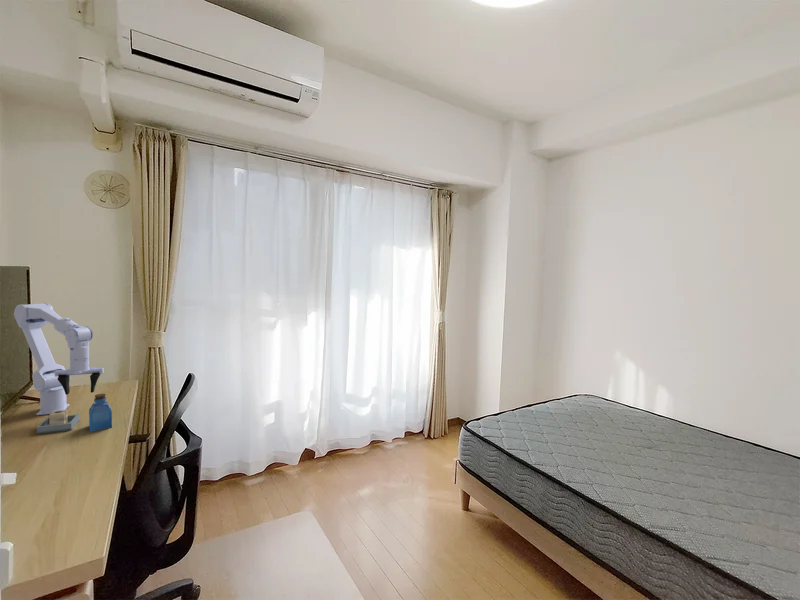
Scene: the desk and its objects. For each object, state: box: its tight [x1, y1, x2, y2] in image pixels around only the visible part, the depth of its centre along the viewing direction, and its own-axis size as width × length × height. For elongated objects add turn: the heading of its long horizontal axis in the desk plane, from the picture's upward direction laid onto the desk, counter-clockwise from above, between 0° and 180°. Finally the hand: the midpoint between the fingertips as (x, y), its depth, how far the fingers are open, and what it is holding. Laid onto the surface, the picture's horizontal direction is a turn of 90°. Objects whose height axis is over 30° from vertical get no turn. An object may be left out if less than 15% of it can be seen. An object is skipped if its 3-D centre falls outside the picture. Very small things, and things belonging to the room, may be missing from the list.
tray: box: [36, 413, 80, 435], centre depth 137 cm, size 9×9×2 cm
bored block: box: [48, 409, 69, 425], centre depth 137 cm, size 4×4×5 cm
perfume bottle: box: [88, 393, 113, 432], centre depth 139 cm, size 6×6×12 cm
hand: (80, 392), depth 147 cm, fingers open, 7 cm apart
